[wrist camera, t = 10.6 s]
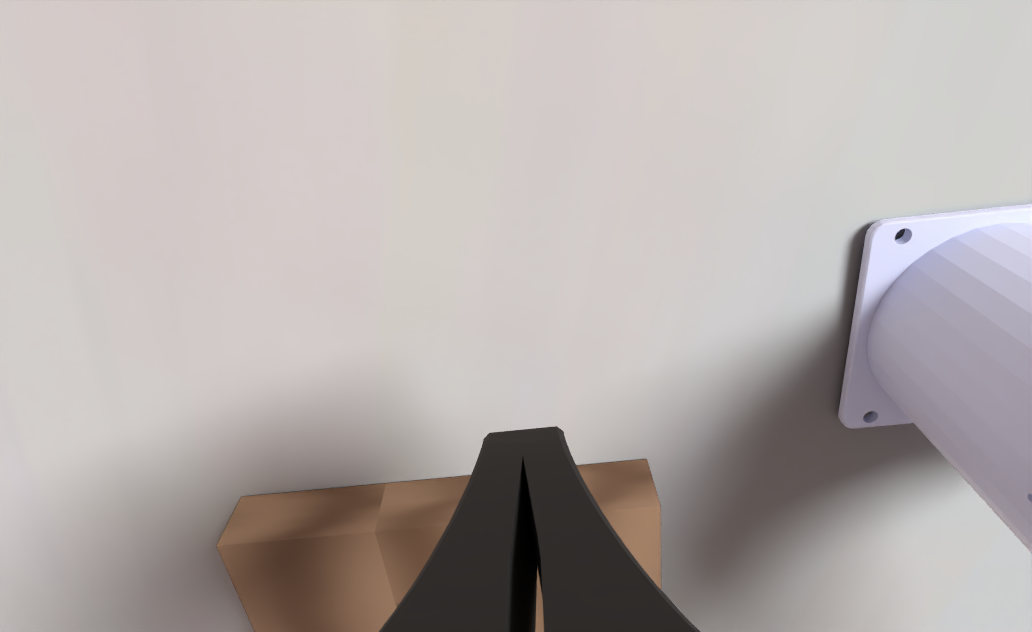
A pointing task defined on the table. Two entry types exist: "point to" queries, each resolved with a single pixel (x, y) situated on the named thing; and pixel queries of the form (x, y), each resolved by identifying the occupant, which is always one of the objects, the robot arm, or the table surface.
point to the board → (386, 545)
